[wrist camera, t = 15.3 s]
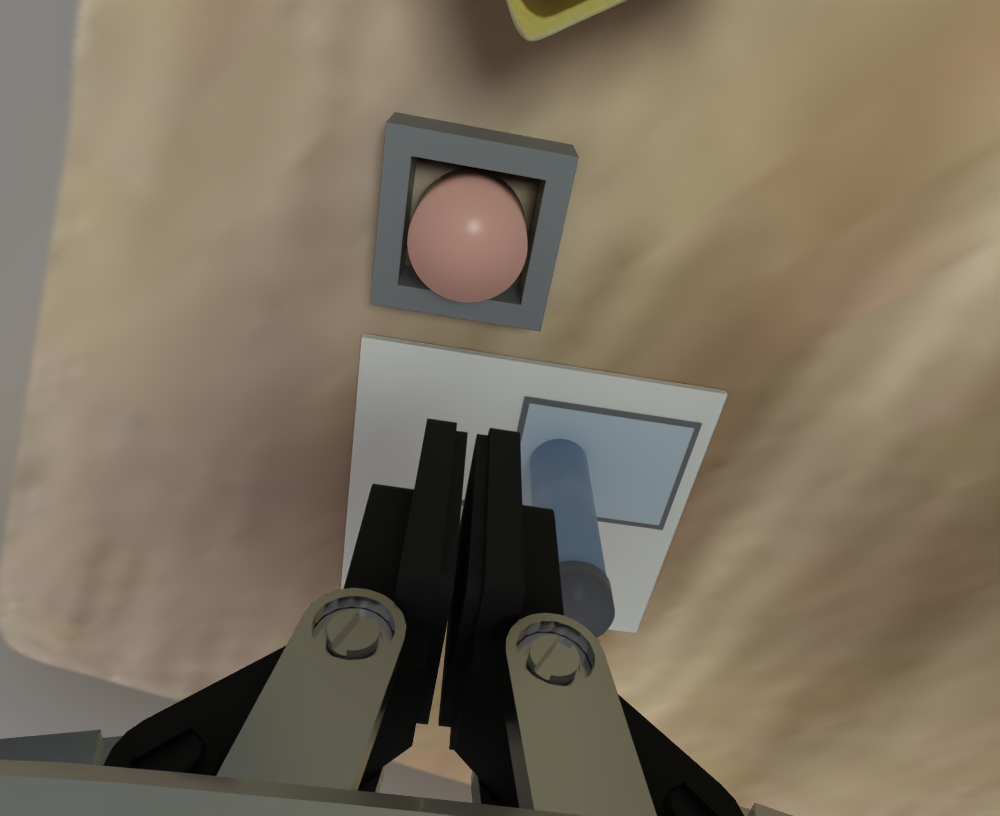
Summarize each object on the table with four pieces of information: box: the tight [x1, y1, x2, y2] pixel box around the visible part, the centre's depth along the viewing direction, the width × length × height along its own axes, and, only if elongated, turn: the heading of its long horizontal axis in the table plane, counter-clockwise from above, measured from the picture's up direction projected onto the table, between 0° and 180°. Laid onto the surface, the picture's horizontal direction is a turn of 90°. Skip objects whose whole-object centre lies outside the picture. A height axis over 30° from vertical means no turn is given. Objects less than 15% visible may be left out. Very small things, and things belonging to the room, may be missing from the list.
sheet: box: [341, 334, 728, 633], centre depth 36 cm, size 17×16×1 cm
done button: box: [407, 169, 528, 303], centre depth 27 cm, size 4×4×3 cm
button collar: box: [370, 112, 579, 331], centre depth 28 cm, size 7×7×2 cm
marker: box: [530, 439, 615, 638], centre depth 31 cm, size 3×3×10 cm
